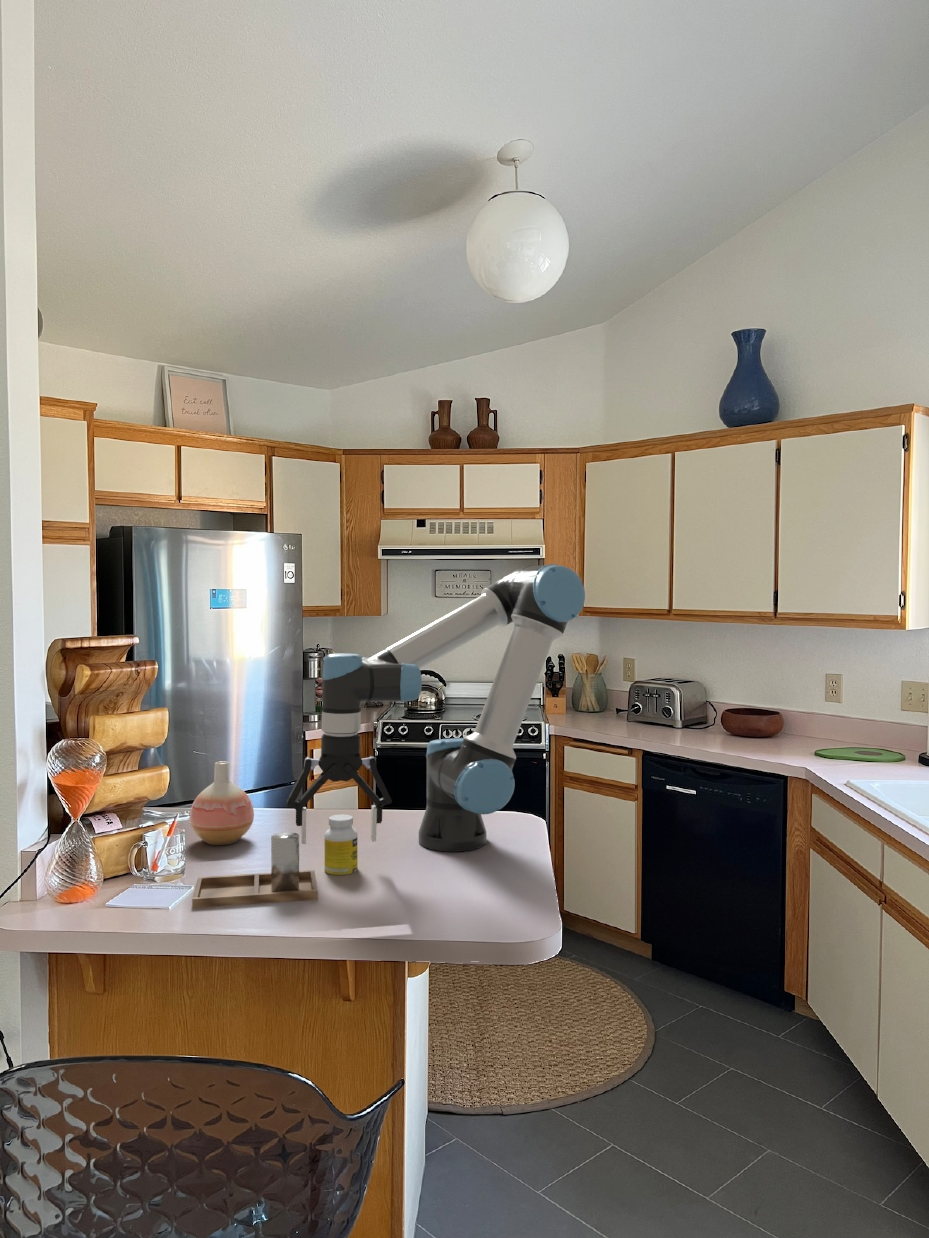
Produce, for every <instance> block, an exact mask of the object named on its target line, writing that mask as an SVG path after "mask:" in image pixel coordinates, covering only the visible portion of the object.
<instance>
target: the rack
mask: <svg viewBox="0 0 929 1238" xmlns="http://www.w3.org/2000/svg"><path fill="white" fill-rule="evenodd" d="M315 871H316V870H315V869H310V870H299V891H285V892H271V872H260V873H244V874H228V875H227V874H226V875H214V876H213V875H211V876H198V877H197V879H196V883H195V887H194V892H193V895H192V901H191V903H192V904H191V907H192V909H198V908H199V909H200V908H215V907H226V906H228V907H229V906H242V905H243V906H245V905H256V904H270V903H271V904H272V903H273V904H274V903H285V902H286V903H287V902H300V901H301V902H302V901H313V900H319V899H318V896H319V895H318V891H319V889H318V886H317V878H316V872H315Z"/></svg>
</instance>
